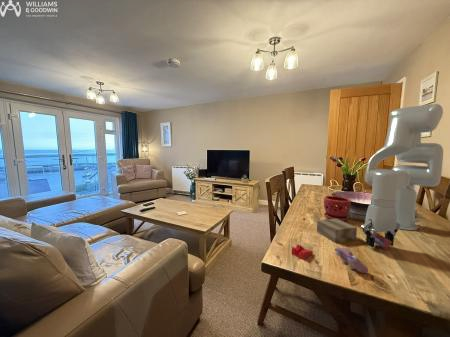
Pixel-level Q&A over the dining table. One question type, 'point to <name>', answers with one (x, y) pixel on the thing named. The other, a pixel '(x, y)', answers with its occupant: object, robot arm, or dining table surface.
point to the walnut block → (336, 230)
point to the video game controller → (350, 259)
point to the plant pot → (334, 211)
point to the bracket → (301, 252)
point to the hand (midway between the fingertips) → (379, 244)
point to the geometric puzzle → (382, 241)
